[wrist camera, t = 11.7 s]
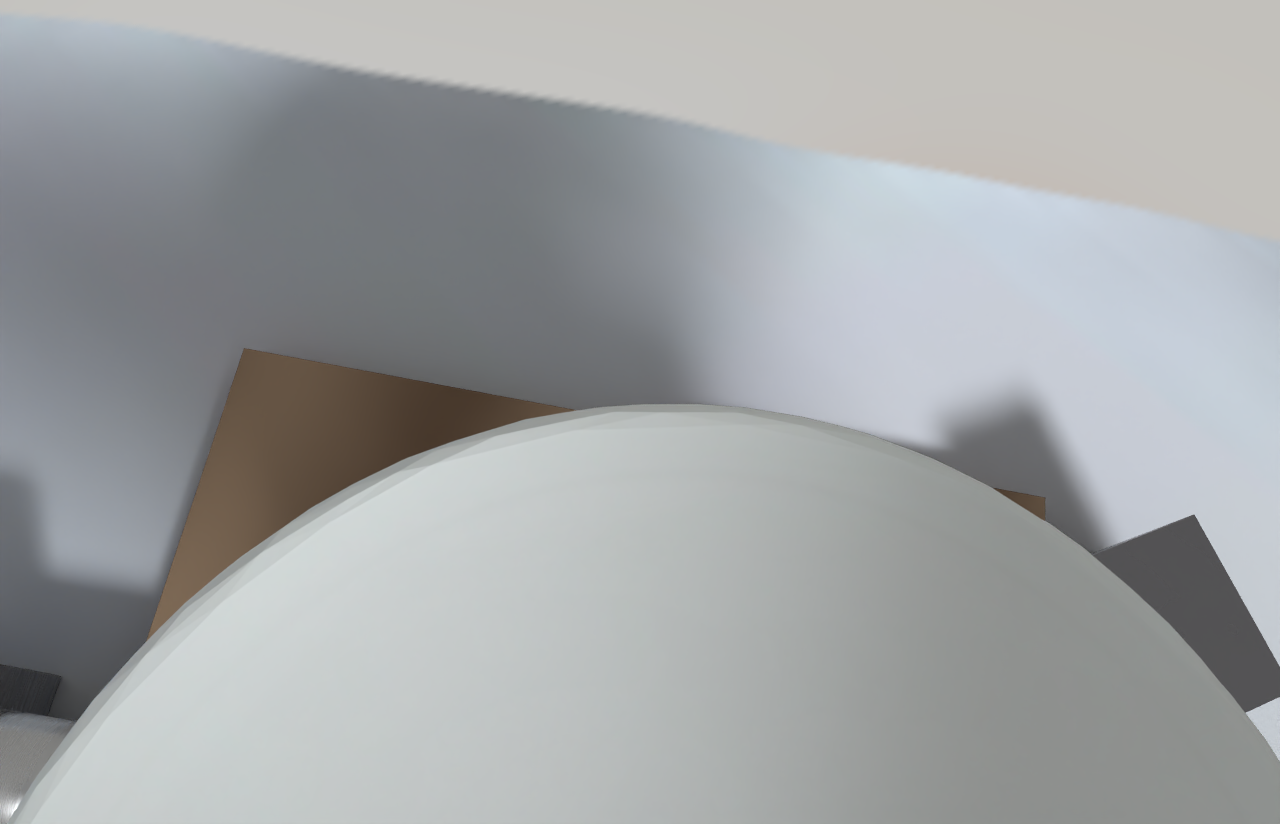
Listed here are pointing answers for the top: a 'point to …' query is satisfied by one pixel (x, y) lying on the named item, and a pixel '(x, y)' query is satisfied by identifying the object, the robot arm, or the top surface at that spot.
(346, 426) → the board
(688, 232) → the top surface
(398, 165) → the top surface
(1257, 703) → the shaft
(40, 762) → the shaft
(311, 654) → the supplement tub
